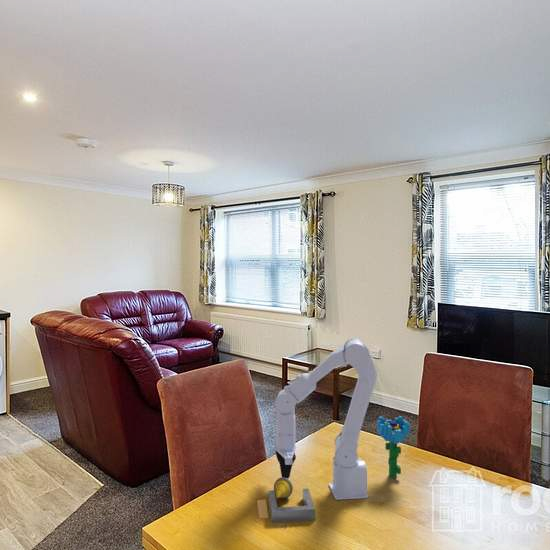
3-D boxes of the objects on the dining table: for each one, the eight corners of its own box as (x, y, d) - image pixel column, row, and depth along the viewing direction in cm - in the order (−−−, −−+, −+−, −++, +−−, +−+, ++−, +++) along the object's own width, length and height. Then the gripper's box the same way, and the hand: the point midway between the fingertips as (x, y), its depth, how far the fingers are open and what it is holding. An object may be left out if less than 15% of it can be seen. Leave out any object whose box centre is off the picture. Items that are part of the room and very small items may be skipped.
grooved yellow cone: (293, 495, 115) (284, 511, 106) (275, 489, 117) (265, 504, 107) (296, 476, 116) (288, 490, 106) (279, 471, 117) (269, 484, 108)
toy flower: (374, 469, 129) (374, 414, 128) (401, 469, 129) (402, 413, 129) (383, 485, 120) (384, 425, 119) (412, 484, 120) (413, 424, 120)
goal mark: (265, 500, 112) (265, 499, 112) (268, 518, 104) (268, 517, 104) (257, 500, 111) (257, 500, 111) (259, 518, 103) (259, 517, 103)
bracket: (308, 499, 112) (308, 488, 112) (315, 520, 103) (315, 509, 103) (268, 501, 111) (268, 490, 111) (271, 523, 102) (271, 511, 102)
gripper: (270, 422, 125) (269, 465, 125) (274, 442, 111) (274, 491, 111) (292, 421, 126) (292, 464, 126) (299, 441, 111) (299, 490, 112)
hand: (285, 477), depth 118 cm, fingers closed
